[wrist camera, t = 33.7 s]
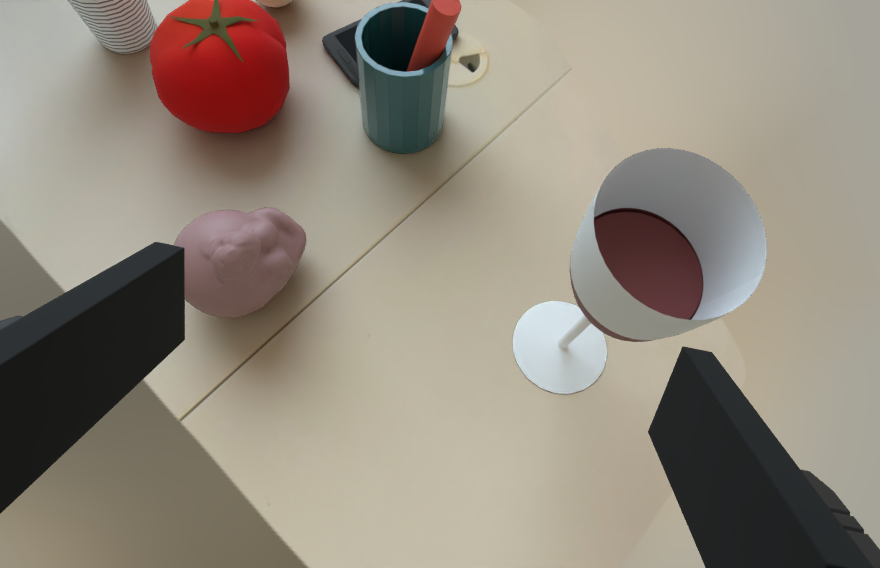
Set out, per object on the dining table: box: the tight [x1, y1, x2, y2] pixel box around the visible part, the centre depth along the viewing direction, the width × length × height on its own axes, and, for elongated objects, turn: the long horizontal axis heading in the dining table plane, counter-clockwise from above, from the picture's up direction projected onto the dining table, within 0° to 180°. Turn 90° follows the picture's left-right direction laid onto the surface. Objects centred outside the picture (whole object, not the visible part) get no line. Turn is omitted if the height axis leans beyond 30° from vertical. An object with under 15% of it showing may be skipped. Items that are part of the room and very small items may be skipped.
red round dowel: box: [406, 0, 461, 72], centre depth 51 cm, size 2×2×15 cm
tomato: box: [150, 0, 289, 133], centre depth 53 cm, size 13×12×11 cm
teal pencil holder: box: [355, 2, 453, 154], centre depth 53 cm, size 8×8×11 cm
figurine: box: [174, 207, 306, 317], centre depth 45 cm, size 9×11×12 cm
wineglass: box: [513, 148, 767, 394], centre depth 40 cm, size 9×10×23 cm
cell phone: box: [322, 0, 458, 85], centre depth 61 cm, size 7×14×1 cm, turn 125°
